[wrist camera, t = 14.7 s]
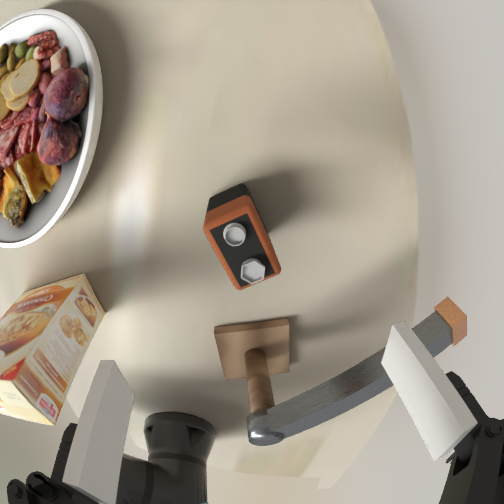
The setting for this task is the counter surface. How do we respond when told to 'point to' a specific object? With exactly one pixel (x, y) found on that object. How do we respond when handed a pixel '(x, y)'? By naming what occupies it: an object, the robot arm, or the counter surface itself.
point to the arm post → (255, 356)
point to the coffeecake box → (45, 347)
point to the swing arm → (351, 383)
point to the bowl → (45, 120)
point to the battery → (240, 237)
